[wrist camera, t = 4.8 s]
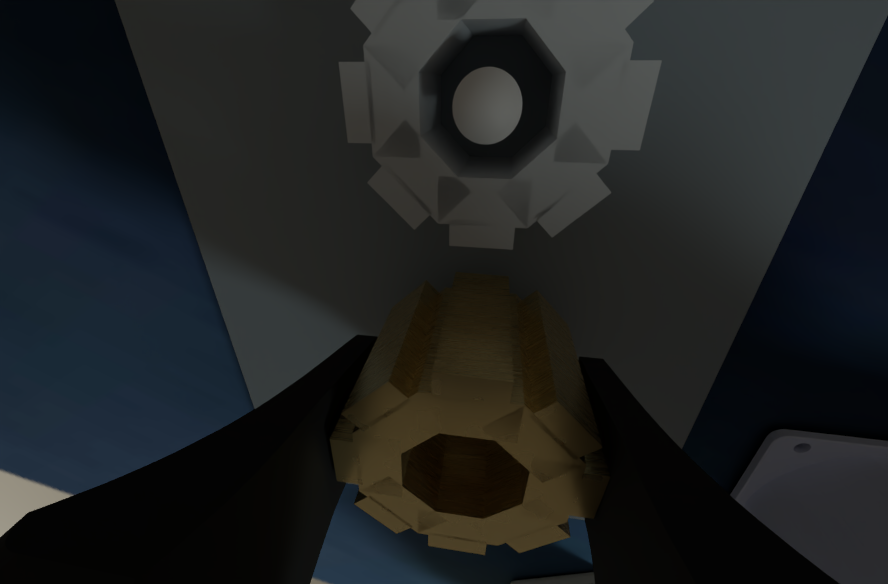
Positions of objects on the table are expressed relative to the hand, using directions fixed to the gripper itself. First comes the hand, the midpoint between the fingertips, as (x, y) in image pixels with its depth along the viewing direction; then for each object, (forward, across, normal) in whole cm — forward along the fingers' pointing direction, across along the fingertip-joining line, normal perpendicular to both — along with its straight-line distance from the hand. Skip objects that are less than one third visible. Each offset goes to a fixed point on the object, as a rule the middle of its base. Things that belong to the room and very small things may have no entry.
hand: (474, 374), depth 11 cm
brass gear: (+1, 0, 0) cm, 1 cm away
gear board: (+4, +1, -2) cm, 4 cm away
